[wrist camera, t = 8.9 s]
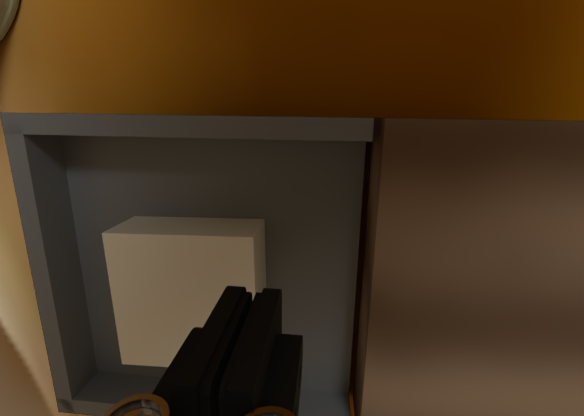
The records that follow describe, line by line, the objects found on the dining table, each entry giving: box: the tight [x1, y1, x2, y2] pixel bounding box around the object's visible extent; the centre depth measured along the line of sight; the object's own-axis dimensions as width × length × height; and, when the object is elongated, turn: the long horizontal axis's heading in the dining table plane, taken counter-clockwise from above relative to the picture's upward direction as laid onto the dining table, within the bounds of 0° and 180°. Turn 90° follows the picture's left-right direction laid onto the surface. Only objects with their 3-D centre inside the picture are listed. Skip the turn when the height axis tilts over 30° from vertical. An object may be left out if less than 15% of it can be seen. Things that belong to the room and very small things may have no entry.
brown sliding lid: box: [353, 118, 584, 416], centre depth 14 cm, size 14×12×3 cm
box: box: [0, 112, 374, 416], centre depth 15 cm, size 14×14×2 cm
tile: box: [102, 216, 266, 367], centre depth 15 cm, size 6×6×2 cm
